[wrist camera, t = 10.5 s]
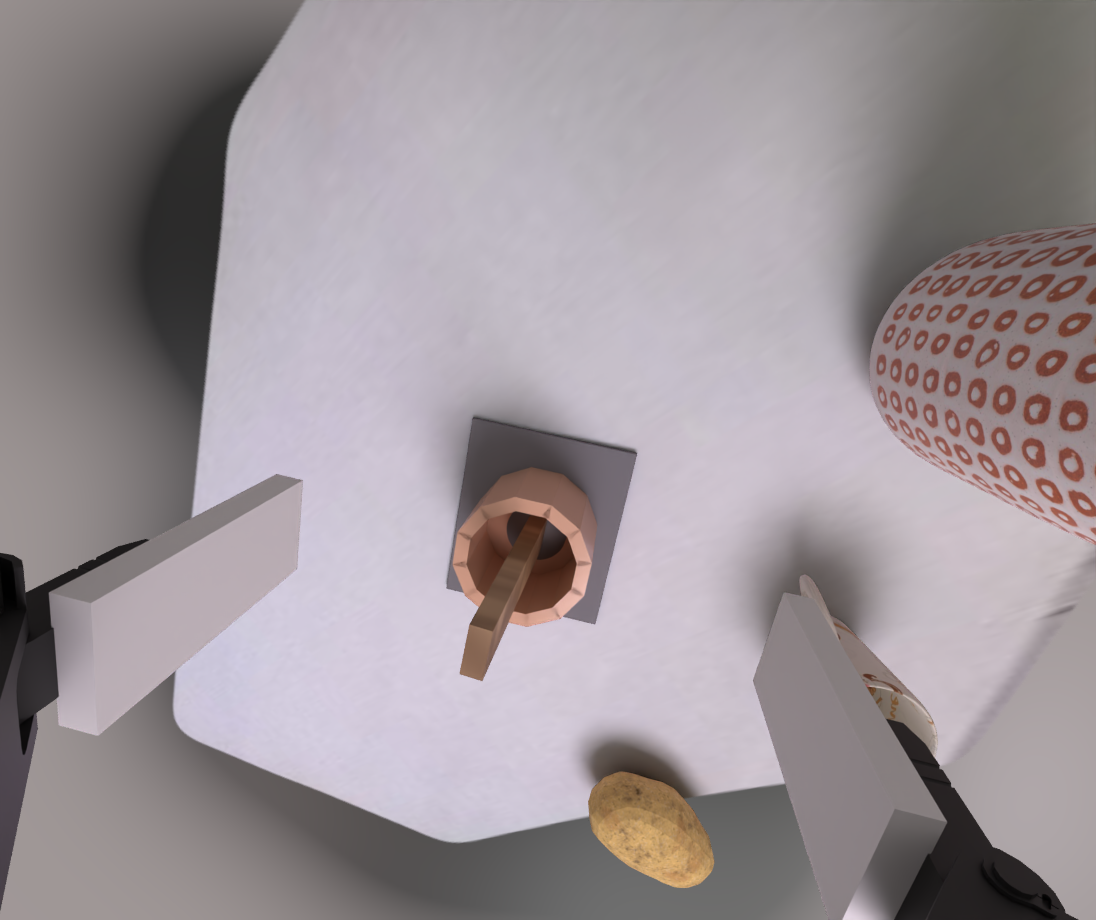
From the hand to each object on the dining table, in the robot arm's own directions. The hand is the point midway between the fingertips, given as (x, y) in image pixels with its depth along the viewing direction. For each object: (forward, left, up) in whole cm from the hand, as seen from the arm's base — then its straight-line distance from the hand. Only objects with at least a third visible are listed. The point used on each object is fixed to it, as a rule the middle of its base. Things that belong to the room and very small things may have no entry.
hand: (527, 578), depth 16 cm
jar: (+10, -2, -26) cm, 28 cm away
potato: (+32, +12, -27) cm, 43 cm away
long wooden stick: (+10, -2, -25) cm, 27 cm away
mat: (+10, -2, -27) cm, 29 cm away
